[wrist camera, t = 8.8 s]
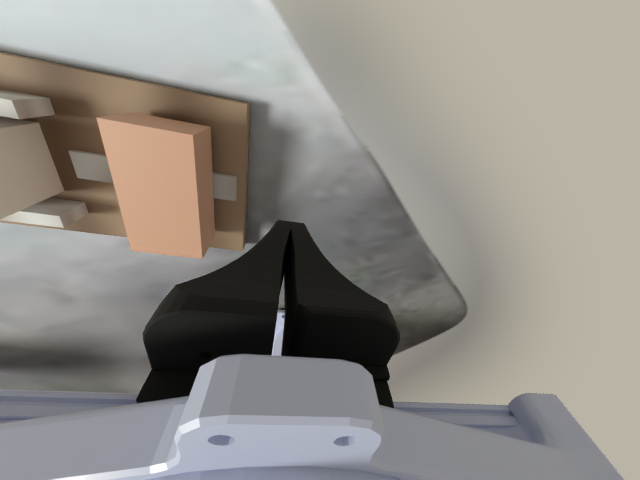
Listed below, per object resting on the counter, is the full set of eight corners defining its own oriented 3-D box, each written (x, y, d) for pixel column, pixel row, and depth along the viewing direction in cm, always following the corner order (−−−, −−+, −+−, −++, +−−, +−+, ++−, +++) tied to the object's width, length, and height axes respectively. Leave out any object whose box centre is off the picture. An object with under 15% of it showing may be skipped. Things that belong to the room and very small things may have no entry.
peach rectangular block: (210, 126, 14) (192, 135, 11) (215, 236, 17) (202, 258, 15) (131, 111, 13) (96, 117, 11) (153, 228, 17) (131, 250, 14)
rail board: (250, 103, 14) (239, 107, 12) (245, 243, 20) (236, 267, 17) (-188, 12, 11) (-327, -8, 9) (-57, 206, 17) (-122, 228, 14)
